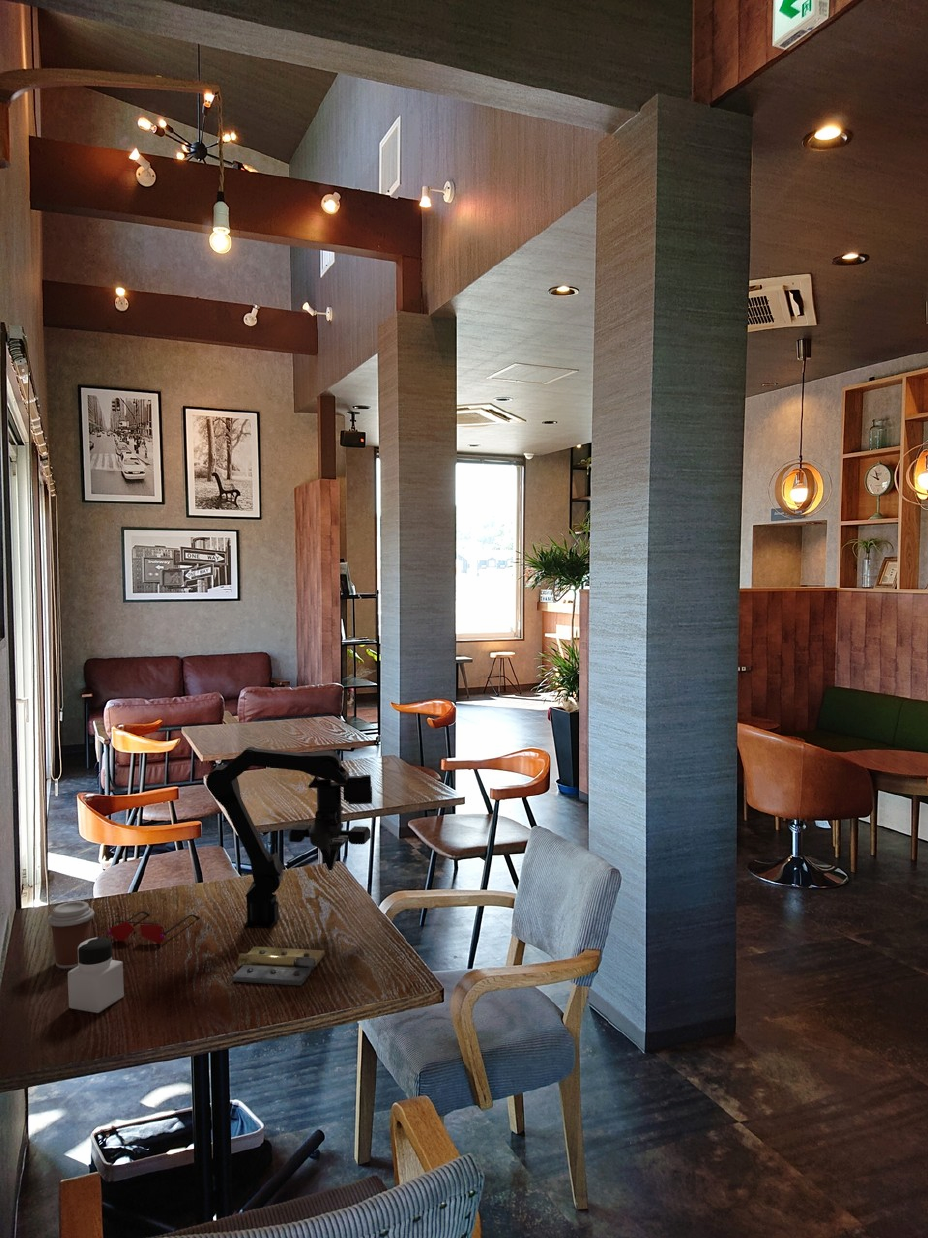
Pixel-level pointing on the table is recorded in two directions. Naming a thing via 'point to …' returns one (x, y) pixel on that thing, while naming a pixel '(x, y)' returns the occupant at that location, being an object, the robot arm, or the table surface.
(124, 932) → the glasses
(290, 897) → the table surface
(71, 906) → the coffee cup
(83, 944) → the medicine bottle
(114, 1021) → the table surface
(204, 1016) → the table surface
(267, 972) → the steel leaf
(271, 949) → the brass leaf
